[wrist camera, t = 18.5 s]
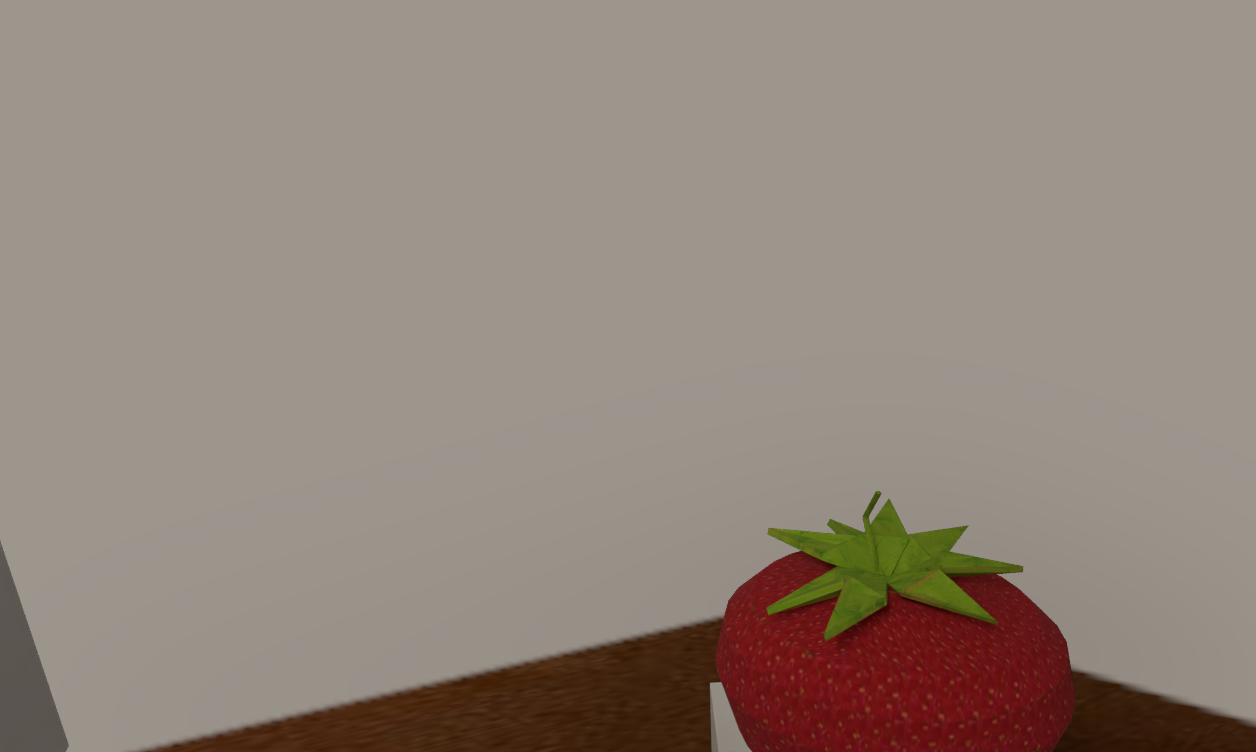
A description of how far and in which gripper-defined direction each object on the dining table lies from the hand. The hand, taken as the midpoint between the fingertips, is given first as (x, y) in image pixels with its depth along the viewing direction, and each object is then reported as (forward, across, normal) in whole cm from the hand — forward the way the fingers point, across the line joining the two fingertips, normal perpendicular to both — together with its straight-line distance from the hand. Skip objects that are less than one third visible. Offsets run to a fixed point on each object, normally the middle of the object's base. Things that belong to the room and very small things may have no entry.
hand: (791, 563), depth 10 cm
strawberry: (+12, +4, -16) cm, 21 cm away
